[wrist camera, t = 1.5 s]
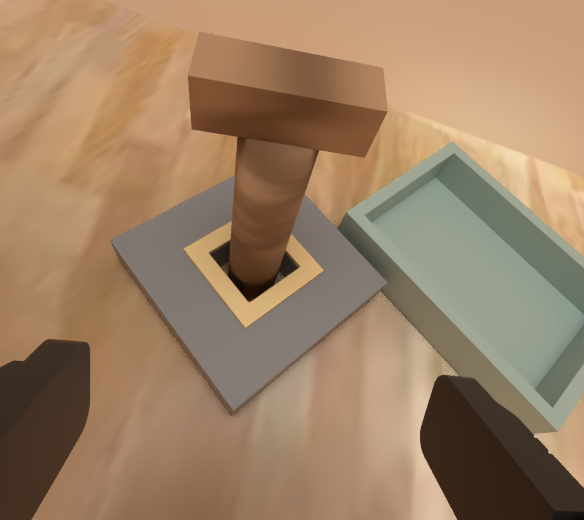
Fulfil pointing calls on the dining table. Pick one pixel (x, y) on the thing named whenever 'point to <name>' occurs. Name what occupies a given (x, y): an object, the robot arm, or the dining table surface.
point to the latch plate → (231, 303)
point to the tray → (480, 282)
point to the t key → (278, 135)
